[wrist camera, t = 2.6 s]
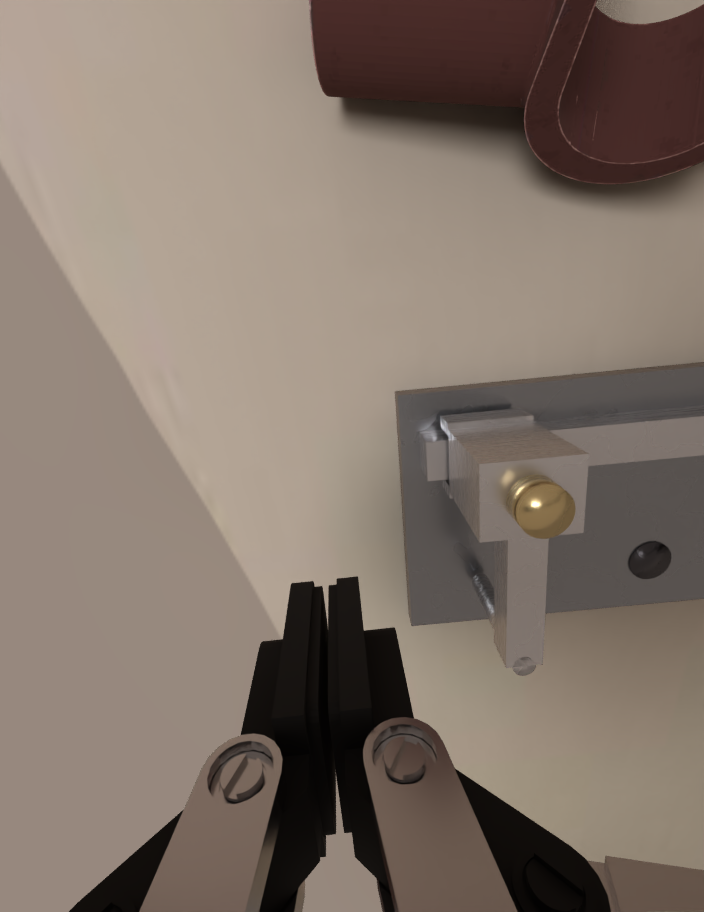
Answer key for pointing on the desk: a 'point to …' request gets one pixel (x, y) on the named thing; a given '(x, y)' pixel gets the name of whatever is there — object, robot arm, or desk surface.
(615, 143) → the bracket
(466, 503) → the sliding leg
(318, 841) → the robot arm
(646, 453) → the bolt plate and beam
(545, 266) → the desk surface
